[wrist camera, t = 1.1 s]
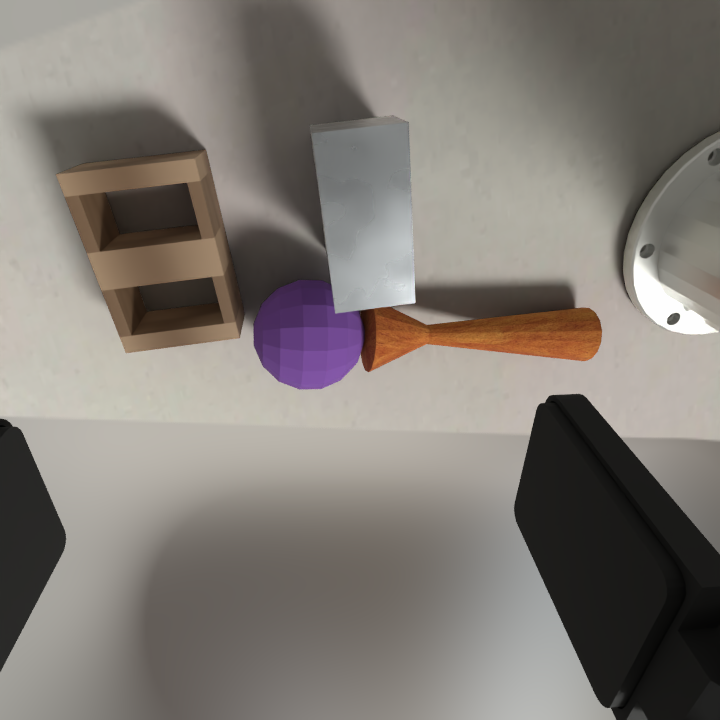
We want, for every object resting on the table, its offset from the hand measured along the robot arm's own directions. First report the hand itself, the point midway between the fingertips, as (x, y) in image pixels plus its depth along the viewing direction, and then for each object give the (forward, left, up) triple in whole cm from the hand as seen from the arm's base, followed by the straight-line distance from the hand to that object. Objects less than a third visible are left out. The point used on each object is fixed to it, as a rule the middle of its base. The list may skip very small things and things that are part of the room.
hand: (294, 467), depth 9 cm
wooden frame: (+7, +1, -20) cm, 21 cm away
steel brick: (-3, -1, -20) cm, 20 cm away
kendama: (-7, +7, -20) cm, 22 cm away
